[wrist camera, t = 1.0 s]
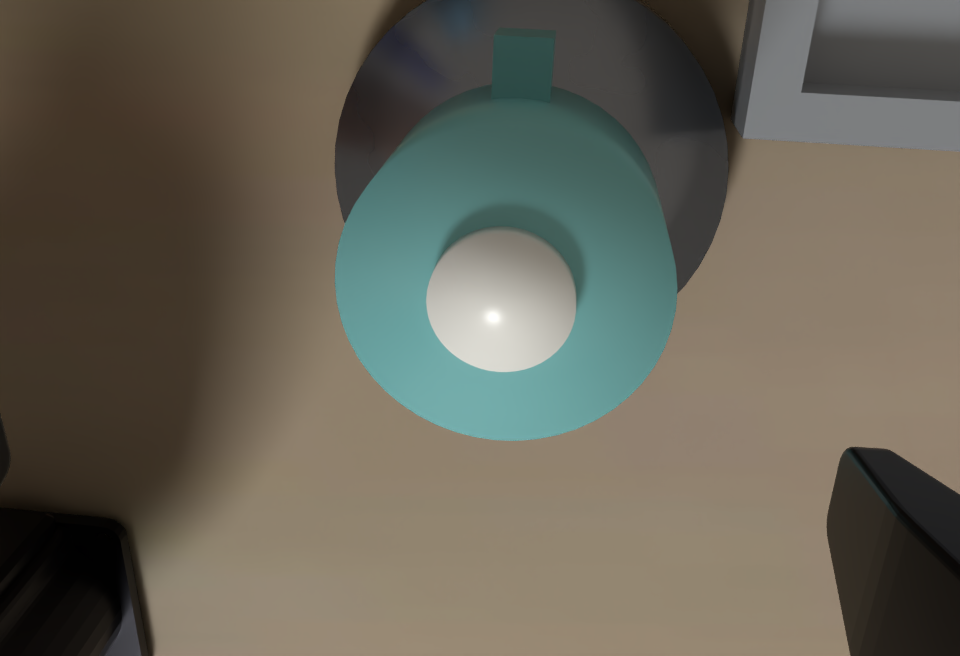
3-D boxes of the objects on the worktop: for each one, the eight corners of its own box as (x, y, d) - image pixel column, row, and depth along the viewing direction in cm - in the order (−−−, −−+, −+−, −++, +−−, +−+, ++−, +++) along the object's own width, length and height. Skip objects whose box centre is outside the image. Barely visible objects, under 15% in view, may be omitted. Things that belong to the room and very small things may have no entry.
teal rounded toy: (642, 361, 19) (656, 467, 15) (381, 339, 19) (334, 437, 15) (686, 33, 16) (715, 71, 12) (376, 17, 16) (317, 49, 13)
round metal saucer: (692, 352, 23) (712, 436, 19) (350, 324, 23) (308, 400, 20) (753, -22, 19) (792, -4, 15) (339, -42, 19) (283, -29, 16)
